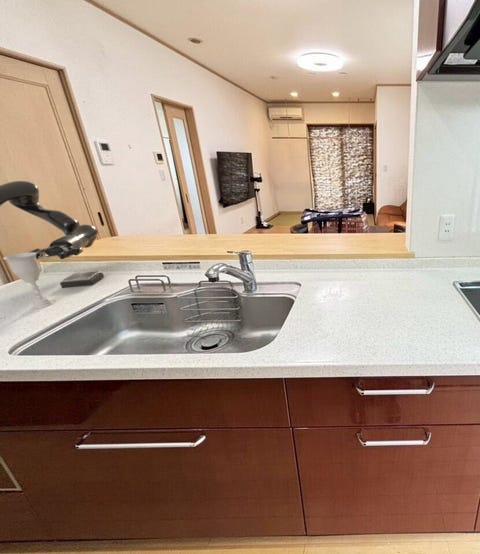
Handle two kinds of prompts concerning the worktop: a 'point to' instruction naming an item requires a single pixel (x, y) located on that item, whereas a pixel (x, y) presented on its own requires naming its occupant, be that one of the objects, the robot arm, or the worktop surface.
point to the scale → (82, 279)
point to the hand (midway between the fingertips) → (45, 258)
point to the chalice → (28, 274)
